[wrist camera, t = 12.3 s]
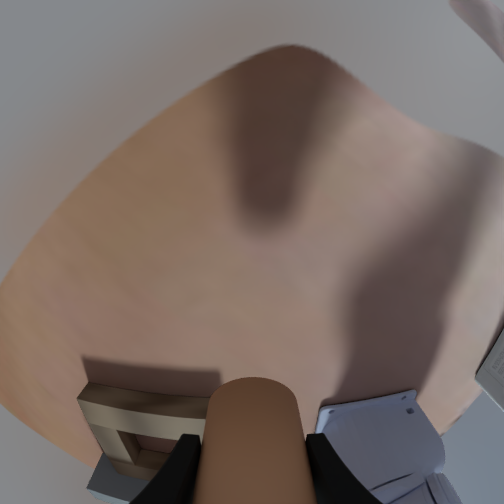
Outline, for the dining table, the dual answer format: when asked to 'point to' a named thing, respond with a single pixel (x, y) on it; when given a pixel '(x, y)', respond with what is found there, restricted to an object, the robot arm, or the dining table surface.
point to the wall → (113, 484)
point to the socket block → (139, 424)
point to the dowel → (253, 447)
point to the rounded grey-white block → (493, 373)
